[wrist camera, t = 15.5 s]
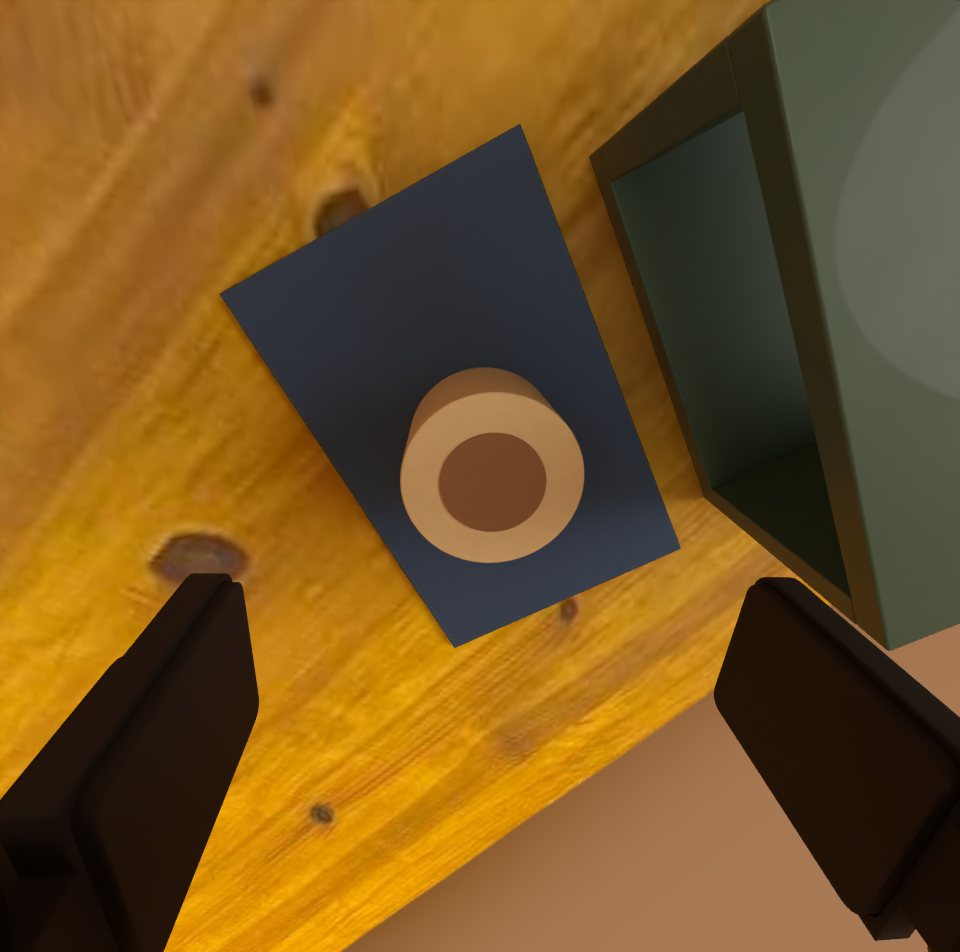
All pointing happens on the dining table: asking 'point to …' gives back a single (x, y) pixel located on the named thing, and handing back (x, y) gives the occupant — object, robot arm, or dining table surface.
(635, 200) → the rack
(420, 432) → the tape
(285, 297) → the mat
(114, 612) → the dining table surface
